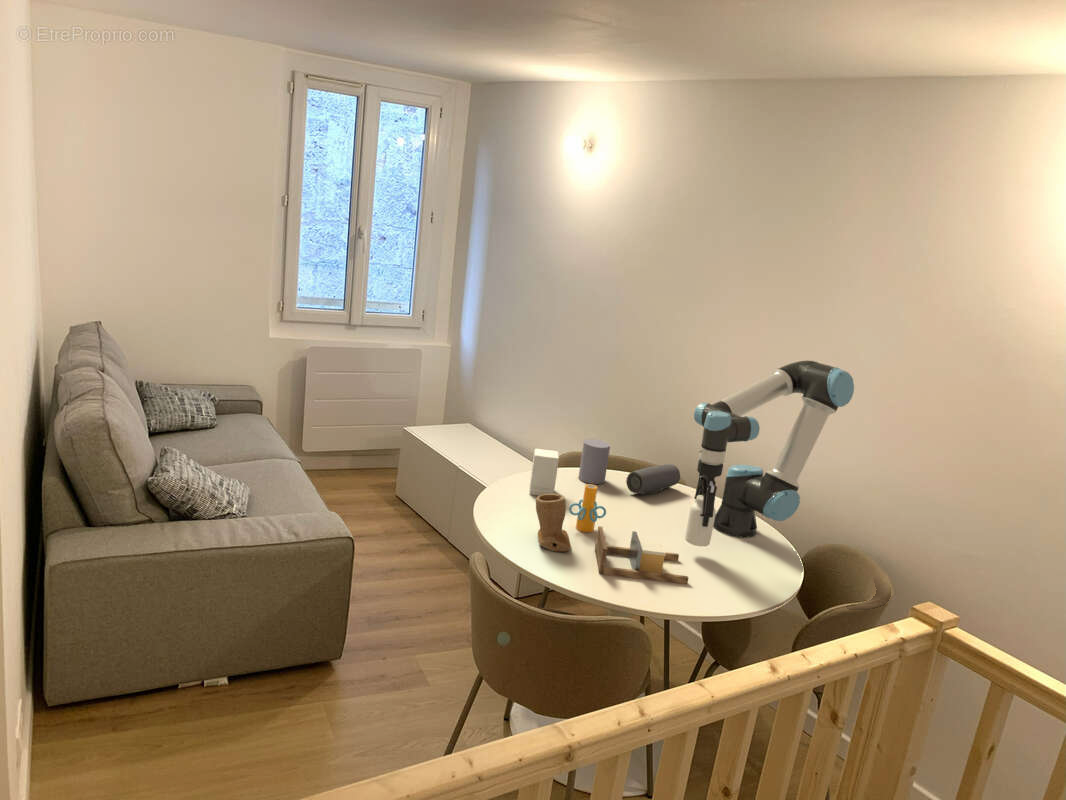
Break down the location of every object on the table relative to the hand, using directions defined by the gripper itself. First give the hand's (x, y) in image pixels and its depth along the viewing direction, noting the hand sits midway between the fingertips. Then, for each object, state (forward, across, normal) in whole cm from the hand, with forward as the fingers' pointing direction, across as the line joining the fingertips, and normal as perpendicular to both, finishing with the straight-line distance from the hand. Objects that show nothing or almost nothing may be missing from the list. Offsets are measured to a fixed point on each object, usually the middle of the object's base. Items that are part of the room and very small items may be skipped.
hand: (699, 529), depth 252 cm
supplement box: (+9, -41, -49) cm, 64 cm away
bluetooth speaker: (+10, -56, -6) cm, 57 cm away
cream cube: (+8, +13, -17) cm, 23 cm away
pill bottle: (+5, 0, 0) cm, 5 cm away
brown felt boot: (+8, +3, -47) cm, 48 cm away
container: (+9, -61, -29) cm, 68 cm away
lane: (+8, +13, -20) cm, 25 cm away
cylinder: (+8, -11, -35) cm, 37 cm away
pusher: (+8, +13, -22) cm, 27 cm away
